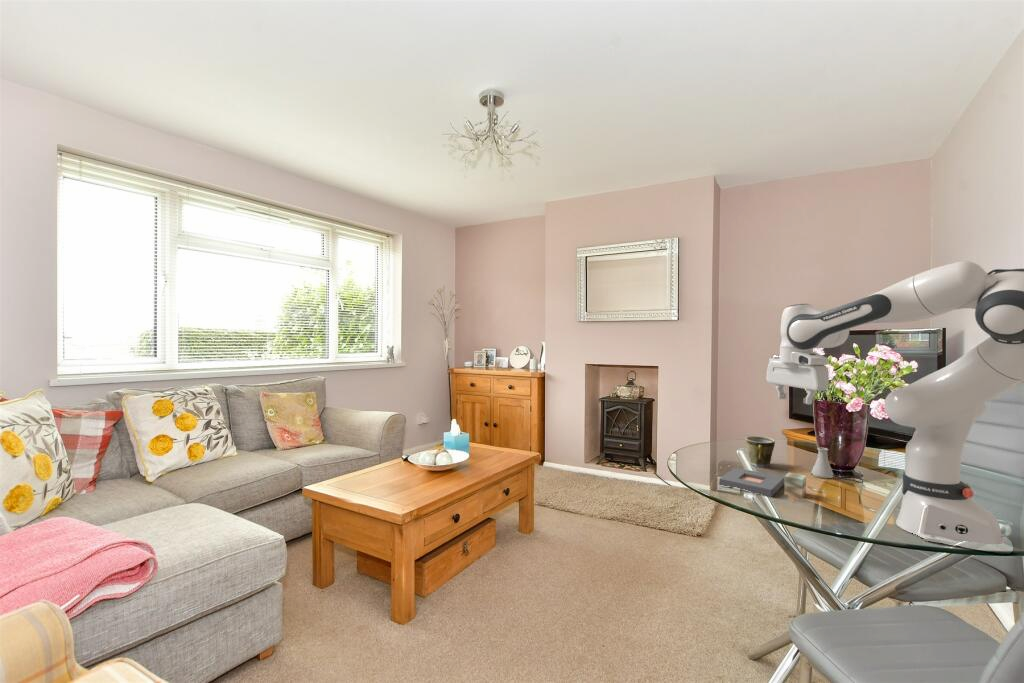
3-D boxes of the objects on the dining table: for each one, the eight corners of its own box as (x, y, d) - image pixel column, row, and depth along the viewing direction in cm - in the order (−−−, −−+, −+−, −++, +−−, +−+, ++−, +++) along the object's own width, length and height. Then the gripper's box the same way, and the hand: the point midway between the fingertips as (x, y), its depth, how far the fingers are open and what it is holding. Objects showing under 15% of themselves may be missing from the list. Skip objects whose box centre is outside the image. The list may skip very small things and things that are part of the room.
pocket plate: (784, 484, 164) (784, 477, 163) (771, 497, 152) (771, 489, 152) (735, 474, 174) (735, 467, 174) (719, 485, 163) (719, 478, 163)
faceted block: (805, 493, 154) (806, 475, 154) (802, 498, 151) (802, 479, 150) (788, 490, 158) (788, 472, 158) (784, 494, 154) (784, 476, 154)
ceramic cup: (745, 459, 191) (745, 435, 191) (773, 463, 187) (774, 437, 187) (745, 469, 180) (745, 443, 179) (775, 472, 175) (776, 445, 175)
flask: (810, 471, 176) (810, 444, 176) (833, 474, 173) (834, 447, 172) (810, 477, 170) (811, 449, 170) (835, 480, 166) (835, 452, 166)
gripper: (761, 354, 157) (760, 396, 157) (816, 359, 137) (814, 407, 137) (777, 354, 158) (776, 395, 159) (833, 359, 138) (831, 406, 139)
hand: (794, 401), depth 148 cm, fingers open, 8 cm apart
